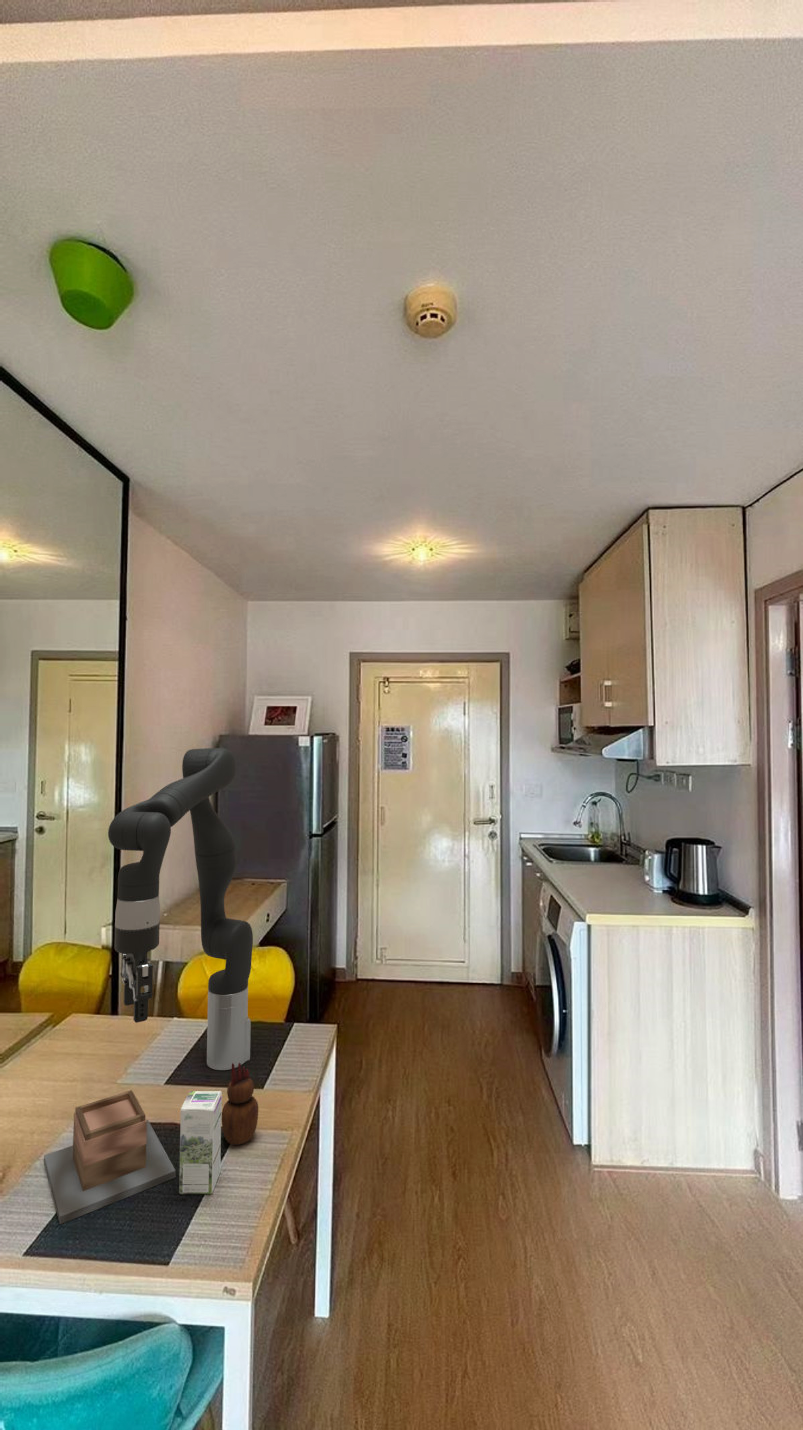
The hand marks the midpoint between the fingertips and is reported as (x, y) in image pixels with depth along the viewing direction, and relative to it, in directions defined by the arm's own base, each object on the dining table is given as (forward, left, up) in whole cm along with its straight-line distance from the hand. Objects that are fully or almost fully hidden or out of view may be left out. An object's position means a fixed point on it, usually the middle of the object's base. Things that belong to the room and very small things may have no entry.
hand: (135, 1012), depth 113 cm
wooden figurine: (-19, +4, -27) cm, 33 cm away
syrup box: (-9, +12, -28) cm, 31 cm away
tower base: (+3, -1, -27) cm, 27 cm away
